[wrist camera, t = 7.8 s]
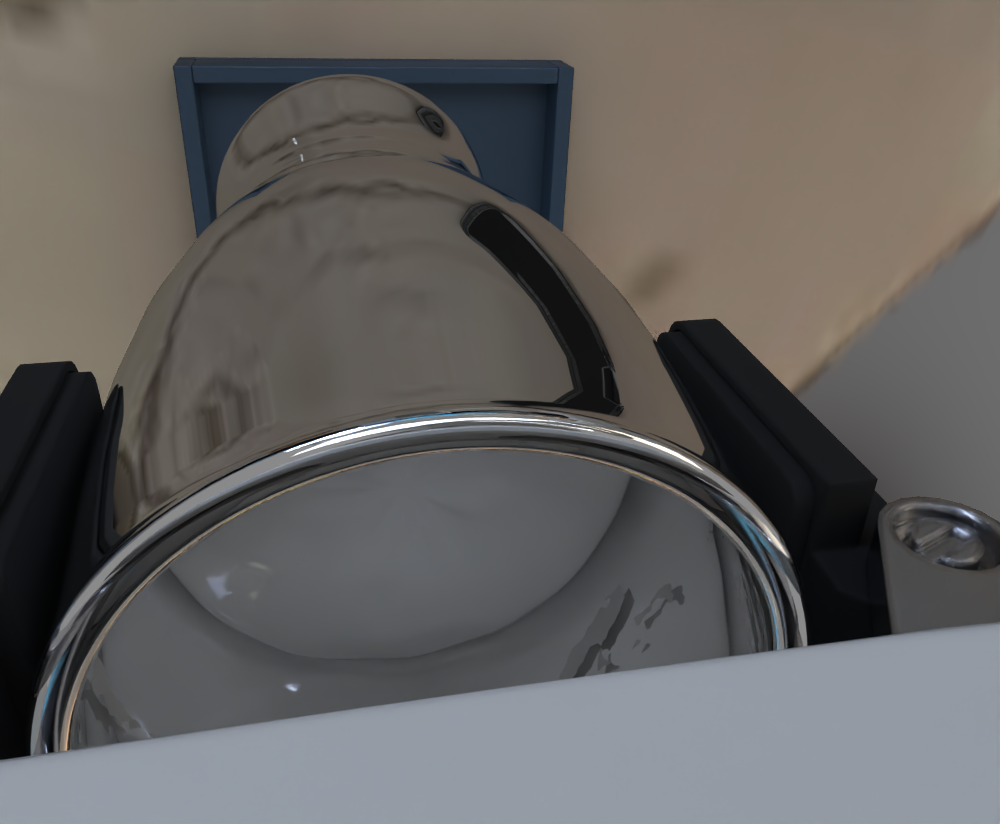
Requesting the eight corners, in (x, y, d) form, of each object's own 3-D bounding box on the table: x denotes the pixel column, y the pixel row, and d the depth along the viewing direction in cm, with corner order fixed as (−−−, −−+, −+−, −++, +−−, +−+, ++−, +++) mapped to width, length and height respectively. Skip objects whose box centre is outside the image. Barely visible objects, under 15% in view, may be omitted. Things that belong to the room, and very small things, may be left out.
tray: (561, 60, 34) (574, 67, 32) (540, 383, 41) (550, 402, 39) (178, 57, 31) (172, 64, 30) (225, 404, 38) (223, 425, 37)
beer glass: (547, 113, 20) (992, 493, 7) (448, 377, 23) (638, 984, 10) (233, -1, 17) (57, 260, 5) (167, 309, 20) (-52, 991, 8)
